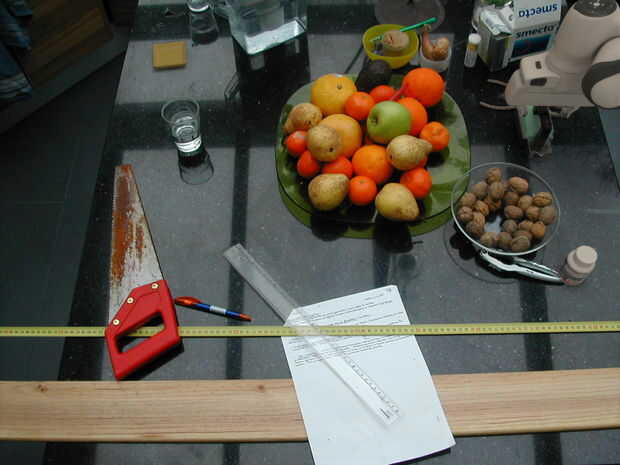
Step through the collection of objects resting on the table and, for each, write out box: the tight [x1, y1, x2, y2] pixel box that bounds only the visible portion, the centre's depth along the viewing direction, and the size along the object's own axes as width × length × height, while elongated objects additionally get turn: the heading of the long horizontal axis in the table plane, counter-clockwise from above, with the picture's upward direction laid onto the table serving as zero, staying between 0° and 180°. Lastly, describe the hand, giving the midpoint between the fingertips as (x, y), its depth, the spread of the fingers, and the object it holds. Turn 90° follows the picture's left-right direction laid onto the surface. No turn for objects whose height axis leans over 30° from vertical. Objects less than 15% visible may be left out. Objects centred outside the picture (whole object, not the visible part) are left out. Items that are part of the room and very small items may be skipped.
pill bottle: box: [557, 245, 598, 286], centre depth 113 cm, size 5×5×9 cm
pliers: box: [479, 79, 564, 119], centre depth 142 cm, size 10×1×20 cm
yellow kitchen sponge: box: [152, 40, 187, 69], centre depth 151 cm, size 9×9×2 cm
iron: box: [513, 106, 555, 165], centre depth 131 cm, size 15×7×10 cm, turn 178°
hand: (543, 115), depth 129 cm, fingers open, 8 cm apart
